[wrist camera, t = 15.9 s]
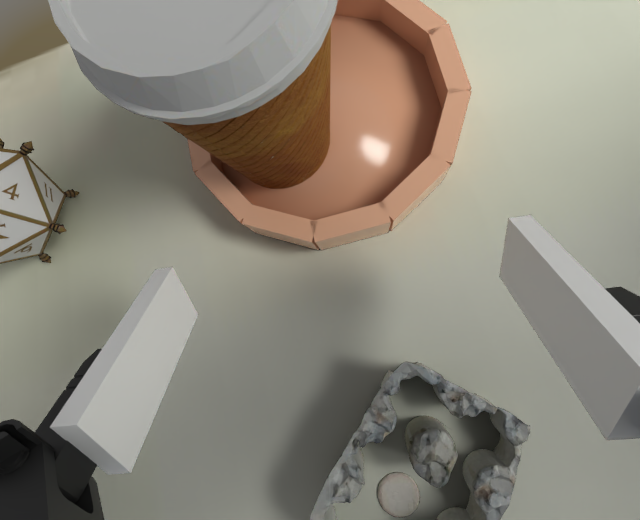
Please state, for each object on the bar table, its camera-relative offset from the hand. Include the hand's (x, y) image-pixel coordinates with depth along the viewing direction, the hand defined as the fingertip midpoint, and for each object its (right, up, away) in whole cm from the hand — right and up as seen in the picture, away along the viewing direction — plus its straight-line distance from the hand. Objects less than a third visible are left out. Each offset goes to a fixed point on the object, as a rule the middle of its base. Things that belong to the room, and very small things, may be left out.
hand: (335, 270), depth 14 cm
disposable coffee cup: (-3, +8, +8) cm, 12 cm away
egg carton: (+4, -11, +5) cm, 13 cm away
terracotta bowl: (0, +9, +9) cm, 13 cm away
